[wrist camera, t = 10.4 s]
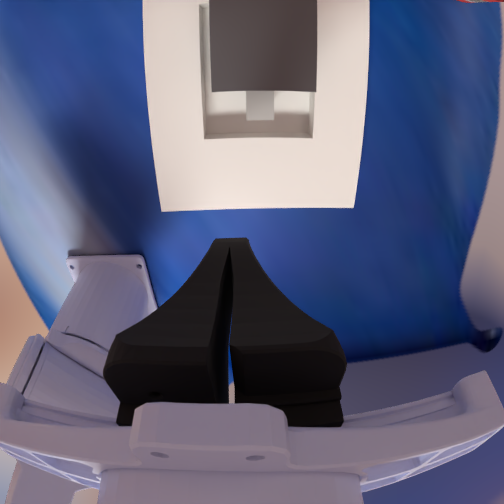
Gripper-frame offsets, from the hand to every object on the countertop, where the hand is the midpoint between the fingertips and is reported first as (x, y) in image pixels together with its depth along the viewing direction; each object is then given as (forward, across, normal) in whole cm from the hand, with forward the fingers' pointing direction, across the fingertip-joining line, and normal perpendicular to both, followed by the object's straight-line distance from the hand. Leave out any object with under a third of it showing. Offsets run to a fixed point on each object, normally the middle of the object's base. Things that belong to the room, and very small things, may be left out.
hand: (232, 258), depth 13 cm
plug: (+9, -2, -9) cm, 13 cm away
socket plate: (+10, -2, -7) cm, 13 cm away
